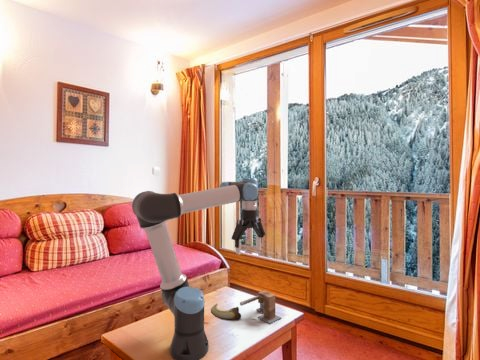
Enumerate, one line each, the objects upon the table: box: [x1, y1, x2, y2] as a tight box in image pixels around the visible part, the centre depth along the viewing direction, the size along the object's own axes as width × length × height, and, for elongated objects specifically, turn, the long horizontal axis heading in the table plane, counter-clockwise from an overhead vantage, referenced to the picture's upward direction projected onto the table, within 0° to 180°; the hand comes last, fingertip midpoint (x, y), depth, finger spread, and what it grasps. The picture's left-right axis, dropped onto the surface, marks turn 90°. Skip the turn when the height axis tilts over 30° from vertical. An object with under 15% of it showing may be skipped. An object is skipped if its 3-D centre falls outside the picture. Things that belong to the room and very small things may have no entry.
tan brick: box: [257, 290, 276, 320], centre depth 145 cm, size 8×4×11 cm, turn 40°
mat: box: [257, 313, 282, 325], centre depth 144 cm, size 8×8×1 cm
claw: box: [211, 303, 242, 320], centre depth 149 cm, size 20×10×3 cm, turn 55°
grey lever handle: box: [239, 289, 266, 315], centre depth 148 cm, size 18×5×10 cm, turn 132°
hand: (248, 252), depth 147 cm, fingers open, 13 cm apart
